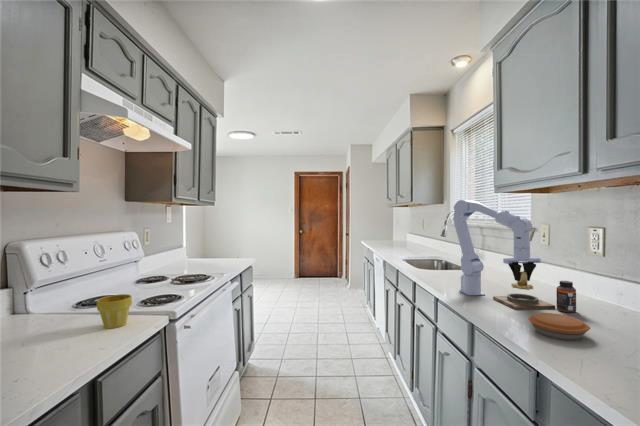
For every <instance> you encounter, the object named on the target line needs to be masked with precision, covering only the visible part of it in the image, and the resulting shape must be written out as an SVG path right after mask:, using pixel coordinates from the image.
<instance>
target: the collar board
mask: <svg viewBox="0 0 640 426" xmlns="http://www.w3.org/2000/svg"><path fill="white" fill-rule="evenodd" d="M492 299H493V301H496V302H498V303H500V304H502V305H505V306H507V307H509V308H511V309H513V310H515V311H517V310H551V309H552V310H553V309H554V310H555V309H556V305H555V304H551V303H549V302H547V301H543V300H542V299H539V298H538V296H534V295H530V294H526V293H508V294H507V295H501V296H500V295H499V296H498V295H497V296H494V295H493V296H492Z"/></svg>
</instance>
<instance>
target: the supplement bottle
mask: <svg viewBox="0 0 640 426" xmlns="http://www.w3.org/2000/svg"><path fill="white" fill-rule="evenodd" d="M558 284H559V285H558V286H557V287H556V291H555V292H556V310H558V311H559V312H562V313H568V314H572V313H573V314H574V313H576V312H577V289H576V288H575V287H574V286H573V285H574V283H573V281H569V280H559V283H558Z"/></svg>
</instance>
